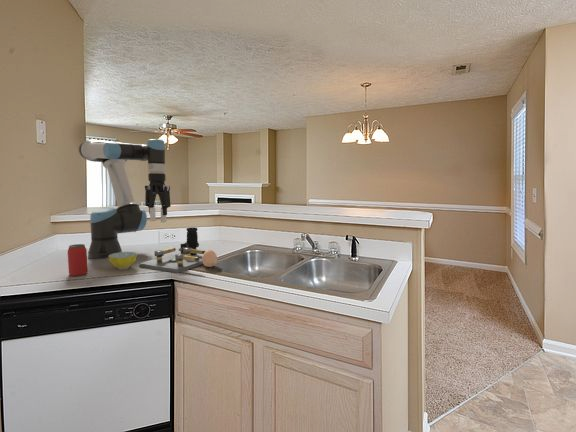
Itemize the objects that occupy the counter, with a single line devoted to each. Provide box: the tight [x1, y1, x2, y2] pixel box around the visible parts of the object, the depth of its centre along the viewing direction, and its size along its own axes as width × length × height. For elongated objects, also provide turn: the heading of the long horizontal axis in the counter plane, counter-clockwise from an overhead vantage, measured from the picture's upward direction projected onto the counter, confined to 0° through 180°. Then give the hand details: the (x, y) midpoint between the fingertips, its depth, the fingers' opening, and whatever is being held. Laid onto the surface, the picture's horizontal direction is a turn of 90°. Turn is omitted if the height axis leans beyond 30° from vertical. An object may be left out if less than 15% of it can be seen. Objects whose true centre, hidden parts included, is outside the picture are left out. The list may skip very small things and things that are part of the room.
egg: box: [201, 249, 218, 268], centre depth 152 cm, size 7×7×8 cm
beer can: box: [67, 243, 89, 277], centre depth 137 cm, size 7×7×12 cm
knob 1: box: [183, 247, 206, 256], centre depth 159 cm, size 12×4×5 cm, turn 66°
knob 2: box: [174, 253, 200, 266], centre depth 146 cm, size 12×4×5 cm, turn 66°
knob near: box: [153, 247, 176, 262], centre depth 157 cm, size 12×4×5 cm, turn 156°
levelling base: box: [138, 254, 204, 274], centre depth 155 cm, size 22×20×2 cm
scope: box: [178, 227, 200, 256], centre depth 176 cm, size 8×14×10 cm
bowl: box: [107, 251, 138, 271], centre depth 148 cm, size 11×12×6 cm
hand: (158, 221), depth 161 cm, fingers open, 6 cm apart
